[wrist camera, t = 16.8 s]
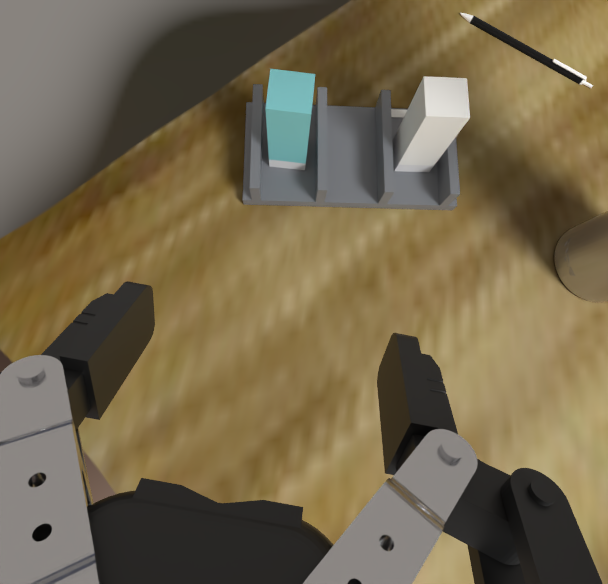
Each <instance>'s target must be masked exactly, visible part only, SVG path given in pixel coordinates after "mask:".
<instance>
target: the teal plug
mask: <svg viewBox="0 0 608 584" xmlns="http://www.w3.org/2000/svg"><path fill="white" fill-rule="evenodd" d="M314 82H315V74H310V73H301V72H293V71H285V70H277V69H270V77H269V85H268V93H267V101H266V123H267V138H268V153H269V166H270V167H279V168H288V169H296V170H305V165H306V157H307V148H308V139H309V130H310V121H311V112H312V102H313V92H314Z"/></svg>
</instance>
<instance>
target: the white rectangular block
mask: <svg viewBox="0 0 608 584" xmlns="http://www.w3.org/2000/svg"><path fill="white" fill-rule="evenodd" d="M469 119H470V110H469V98H468V86H467V78H449V77H427V76H424V77H423V79H422V81H421V83H420V85H419V87H418V89H417V91H416V93H415V95H414V97H413V99H412V102H411V104H410V106H409V108H408V110H407V112H406V114H405V116H404V118H403V120H402V122H401V124H400V126H399V128H398V130H397V132H396V134H395V136H394V138H393V148H394V171H403V172H430V170H431V169H432V168H433V166H434V165H435V164H436V162H437V161H438V160H439V158H440V157H441V156H442V154H443V153H444V152H445V150H446V149H447V148H448V146H449V145H450V144H451V142H452V141H453V140H454V139H455V137H456V136H457V135H458V133H459V132H460V131H461V129H462V128H463V127H464V125H465V124H466V123H467V121H468V120H469Z"/></svg>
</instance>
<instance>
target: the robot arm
mask: <svg viewBox="0 0 608 584" xmlns="http://www.w3.org/2000/svg"><path fill="white" fill-rule="evenodd" d="M554 255H555V266H556V270H557V273H558V275H559V277H560V279H561V281H562V282H563V283H564V285H565V286H566V287H567V288H568V289H569V290H570V291H571V292H572V293H574V294H575V295H577V296H578V297H580V298H582V299H585V300H587V301H592V302H607V301H608V211H607V212H605V213H603V214H600V215H598V216H596V217H594V218H592V219H590V220H588V221H586V222H584V223H582V224H579V225H577V226H575V227H573V228H571V229H569V230H568V231H567V232H565V233H564V234H563V235H562V237H561V238H560V239H559V241H558V243H557V245H556V249H555V254H554ZM154 325H155V320H154V303H153V290H152V287H151V286H149V285H144V284H138V283H133V282H125V283H124V284H123V285H122V286H121V287H120V288H119V289H118V290H117V292H116V293H115V294H114V295H113V294H108V293H107V294H105V295H103V296H101V297H99V298H97V299H95V300H93V301H92V302H91V303H90V304H89V305H88V306H87V307H86V308H85V309H84V310H83V311H82V313H81V314H79V315H78V316H77V317H76V318H75V320H74V321H73V323H71V324H70V325H69V326H68V327H67V328H66V329H65V330H64V331H63V332H62V333H61V334H60V335H59V336H58V337H57V338H56V340H55V341H54V342H53V343H52V344H51V345H50V346H49V347H48V348H47V349H46V350H45V351H44V352H43V353H42V354H41V355H35V356H29V357H26V358H23V359H20V360H18V361H16V362H14V363H12V364H11V365H9V366H8V367H6V368H5V369H4V371H2V372H0V584H412V583H413V581H414V579H415V578H416V576H417V574H418V573H419V571H420V569H421V567H422V566H423V564H424V562H425V560H426V559H427V557H428V555H429V554H430V552H431V550H432V548H433V547H434V545H435V543H436V542H437V540H438V538H439V536H440V535H441V533H442V531H443V532H445V533H447V534H449V535H451V536H452V537H454V538H456V539H458V540H460V541H462V542H464V543H466V544H467V545H468V550H469V555H470V561H471V566H472V572H473V577H474V583H475V584H602V581H601V579H600V576H599V574H598V572H597V569H596V567H595V565H594V562H593V560H592V557H591V555H590V553H589V550H588V548H587V545H586V543H585V541H584V538H583V536H582V533H581V531H580V529H579V526H578V524H577V521H576V519H575V517H574V514H573V512H572V509H571V507H570V505H569V502H568V500H567V498H566V496H565V495H564V493H563V492H562V490H561V489H560V488H559V487H558V486H557V485H556V484H555V483H554V482H553V481H552V480H551V479H550V478H548V477H547V476H545V475H544V474H542V473H540V472H538V471H536V470H533V469H529V468H520V469H517V470H515V471H514V472H513V473H512V475H511V476H510V475H508V474H506V473H504V472H502V471H500V470H498V469H496V468H494V467H491V466H489V465H487V464H485V463H483V462H482V461H480V460H479V459H477V457H476V454H475V452H474V450H473V449H472V447H471V446H470V445H469V443H468V442H467V441H466V440H465V439H463V438H462V437H461V436H459V435H458V433H457V429H456V425H455V422H454V418H453V415H452V411H451V407H450V404H449V400H448V397H447V394H446V389H445V386H444V383H443V379H442V375H441V371H440V368H439V367H438V365H437V364H436V363H435V361H434V360H433V359H432V357H431V356H430V355H426V354H421V351H420V346H419V342H418V339H417V337H413V336H408V335H403V334H398V333H393V334H392V336H391V338H390V341H389V343H388V346H387V349H386V351H385V354H384V356H383V359H382V361H381V364H380V367H379V371H378V378H377V387H378V398H379V409H380V421H381V432H382V444H383V455H384V467H385V473H386V474H391V475H394V476H393V477H392V478H391V479H390V478H389V479H388V480H387V481H386V482H385V483H384V484H383V485H382V486H381V487H380V489H379V490H378V491H377V492H376V494H375V495H374V496H373V497H372V499H371V500H370V501H369V502H368V504H367V505H366V506H365V507H364V508H363V510H362V511H361V512H360V513H359V515H358V516H357V517H356V518H355V520H354V521H353V522H352V523H351V525H350V526H349V527H348V528H347V529H346V531H345V532H344V533H343V534H342V536H341V537H340V538H339V539H338V541H337V542H336V543H335V544H334V545H333V544H332V543H331V542H330V541H329V539H328V538H327V537H326V536H325V535H324V534H322V533H321V532H320V531H319V530H318V529H316V528H315V527H313V526H312V525H310V524H309V523H307V522H305V521H303V520H302V512H303V507H299V506H293V505H288V504H282V503H277V502H271V501H266V500H259V501H247V502H235V503H217V502H215V501H213V500H211V499H209V498H207V497H204V496H202V495H200V494H198V493H196V492H194V491H192V490H190V489H188V488H186V487H184V486H182V485H177V484H172V483H166V482H161V481H155V480H150V479H144V478H141V480H140V482H139V484H138V487H137V489H136V491H129V492H124V493H119V494H116V495H113V496H110V497H107V498H105V499H102V500H100V501H98V502H96V503H94V504H93V499H92V495H91V490H90V485H89V481H88V475H87V470H86V465H85V460H84V454H83V449H82V443H81V438H80V433H79V429H78V427H79V425H80V424H81V422H82V421H83V420H84V418H85V417H87V418H93V419H98V420H100V418H101V416H102V415H103V413H104V412H105V410H106V409H107V407H108V406H109V404H110V402H111V401H112V399H113V398H114V396H115V395H116V393H117V391H118V390H119V388H120V387H121V385H122V384H123V382H124V380H125V379H126V377H127V376H128V374H129V373H130V371H131V369H132V368H133V366H134V365H135V363H136V362H137V360H138V359H139V357H140V355H141V354H142V352H143V351H144V349H145V348H146V346H147V344H148V343H149V341H150V339H151V337H152V335H153V331H154Z"/></svg>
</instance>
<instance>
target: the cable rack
mask: <svg viewBox="0 0 608 584" xmlns="http://www.w3.org/2000/svg"><path fill="white" fill-rule="evenodd" d="M407 110H408V109H398V108H391V92H390V90H381V92H380V95H379V98H378V101H377V104H376V106H375V108H374V107H350V106H327V87H318V90H317V98H316V105H312V112H311V121H310V130H309V139H308V148H307V157H306V165H305V170H296V169H288V168H279V167H270V166H269V153H268V138H267V123H266V103H264V98H263V85H259V84H253V103H252V102H246V126H245V152H244V178H243V203H244V204H248V205H284V206H320V207H356V208H391V209H427V210H453V209H454V208H455V207H456V206H457V199H456V198H457V197H458V196H459V195H460V186H459V172H458V158H457V144H456V137H455V139H454V140H453V141H452V142H451V144H450V145H449V146H448V148H447V149H446V150H445V152H444V153H443V154H442V156H441V157H440V158H439V160H438V161H437V162H436V164H435V165H434V166H433V168H432V169H431V170H430V172H403V171H394V148H393V138H394V136H395V134H396V132H397V130H398V128H399V126H400V124H401V122H402V120H403V118H404V116H405V114H406V112H407Z"/></svg>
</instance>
